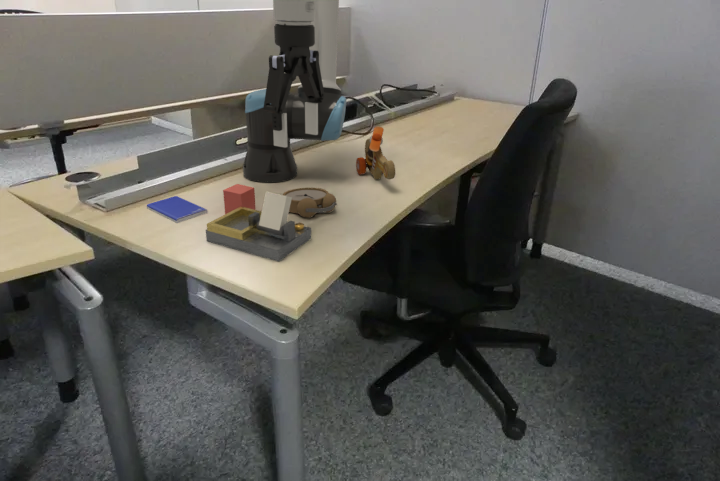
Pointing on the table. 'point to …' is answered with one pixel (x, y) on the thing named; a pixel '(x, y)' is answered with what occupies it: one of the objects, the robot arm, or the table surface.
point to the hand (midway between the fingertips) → (296, 139)
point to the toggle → (274, 213)
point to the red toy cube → (239, 197)
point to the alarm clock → (310, 201)
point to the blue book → (176, 209)
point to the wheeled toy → (375, 158)
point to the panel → (255, 234)
